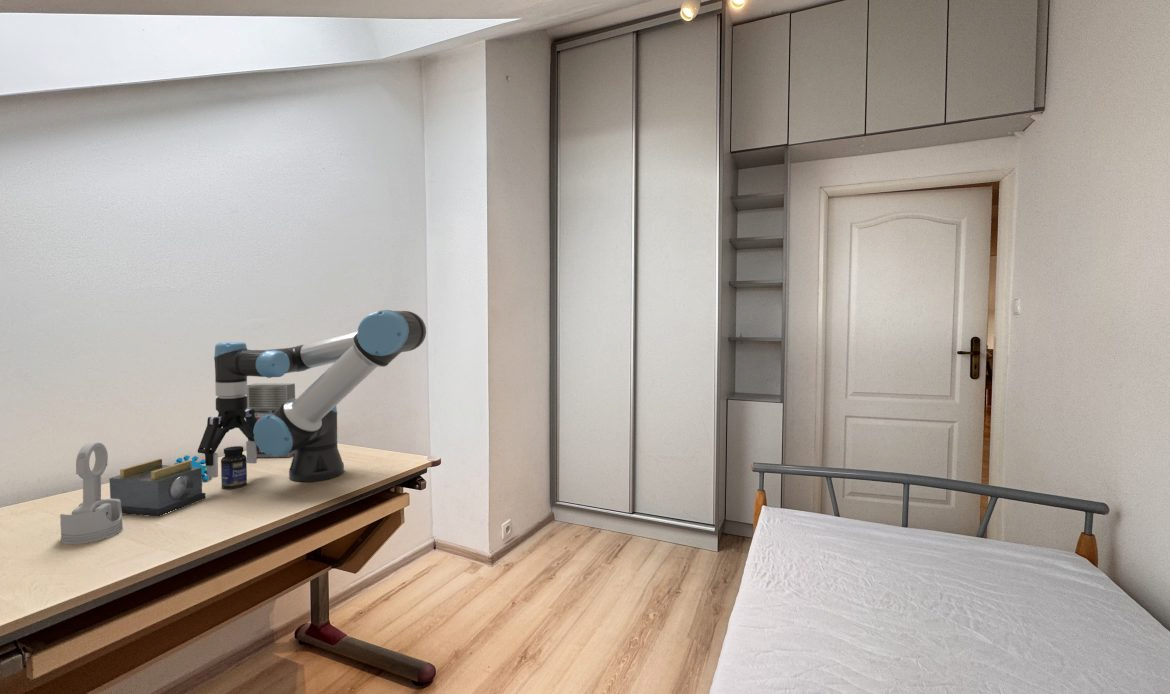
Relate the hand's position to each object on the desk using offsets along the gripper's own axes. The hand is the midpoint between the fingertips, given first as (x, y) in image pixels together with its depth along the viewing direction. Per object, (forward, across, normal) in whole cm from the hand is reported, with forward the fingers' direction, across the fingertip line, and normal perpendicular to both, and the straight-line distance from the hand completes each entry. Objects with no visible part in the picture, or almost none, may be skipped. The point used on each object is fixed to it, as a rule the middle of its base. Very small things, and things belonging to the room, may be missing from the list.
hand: (233, 469), depth 151 cm
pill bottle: (+5, 0, 0) cm, 5 cm away
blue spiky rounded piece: (+5, -1, -14) cm, 15 cm away
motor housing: (+5, +17, -6) cm, 19 cm away
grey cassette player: (+5, -30, -13) cm, 33 cm away
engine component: (+5, +34, -3) cm, 35 cm away
